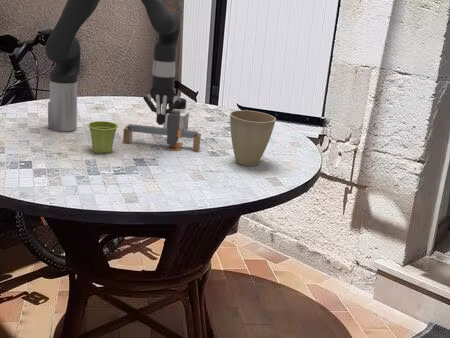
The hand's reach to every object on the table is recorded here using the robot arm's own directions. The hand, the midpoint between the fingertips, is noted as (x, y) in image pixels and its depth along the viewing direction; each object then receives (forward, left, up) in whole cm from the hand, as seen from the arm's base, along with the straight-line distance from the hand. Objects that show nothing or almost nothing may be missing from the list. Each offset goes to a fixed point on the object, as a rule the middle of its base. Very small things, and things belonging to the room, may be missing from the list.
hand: (160, 124), depth 192 cm
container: (+3, +19, -8) cm, 21 cm away
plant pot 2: (+31, -8, -8) cm, 33 cm away
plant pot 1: (-17, -13, -8) cm, 22 cm away
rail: (+1, 0, -7) cm, 7 cm away
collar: (+4, 0, -6) cm, 7 cm away
